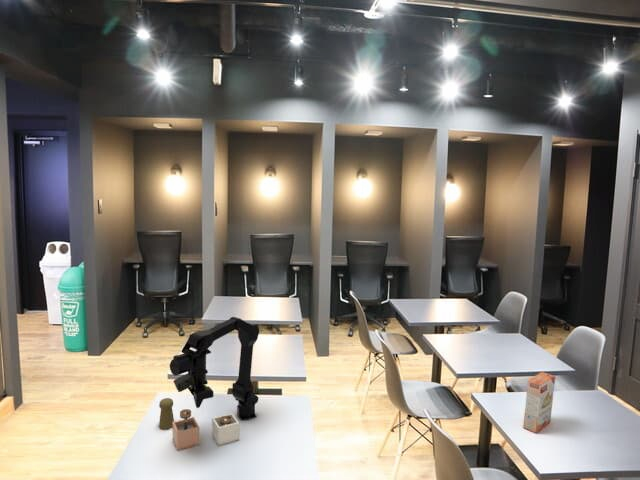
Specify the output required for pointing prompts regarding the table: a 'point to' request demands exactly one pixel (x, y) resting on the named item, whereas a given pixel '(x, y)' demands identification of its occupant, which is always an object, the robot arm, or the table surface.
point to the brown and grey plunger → (185, 420)
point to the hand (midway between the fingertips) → (197, 407)
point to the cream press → (225, 430)
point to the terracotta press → (185, 434)
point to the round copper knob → (225, 420)
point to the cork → (166, 414)
